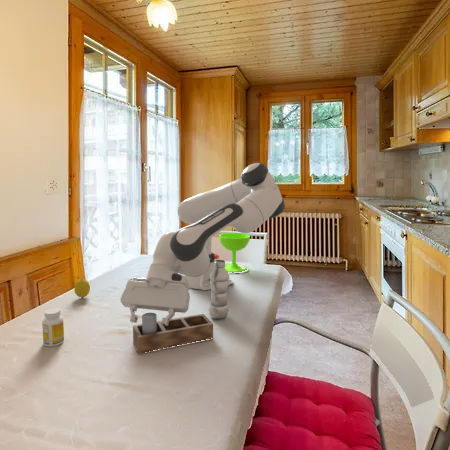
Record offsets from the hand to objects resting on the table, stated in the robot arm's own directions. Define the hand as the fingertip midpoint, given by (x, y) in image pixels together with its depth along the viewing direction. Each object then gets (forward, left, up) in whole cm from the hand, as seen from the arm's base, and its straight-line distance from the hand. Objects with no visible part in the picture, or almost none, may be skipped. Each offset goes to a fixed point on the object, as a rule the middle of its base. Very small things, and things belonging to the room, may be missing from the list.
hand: (148, 323), depth 96 cm
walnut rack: (-7, -1, -7) cm, 10 cm away
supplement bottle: (+25, -13, -7) cm, 28 cm away
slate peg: (0, 0, -6) cm, 6 cm away
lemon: (+16, -47, -7) cm, 50 cm away
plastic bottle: (-26, -11, -7) cm, 29 cm away
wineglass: (-57, -62, -7) cm, 84 cm away
